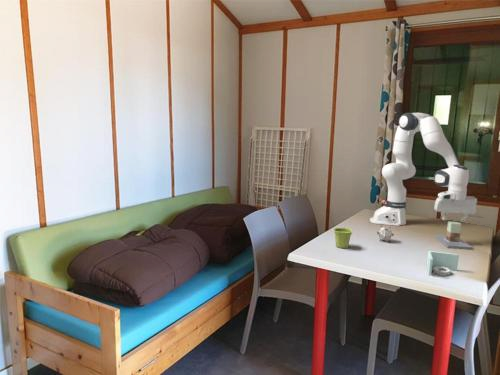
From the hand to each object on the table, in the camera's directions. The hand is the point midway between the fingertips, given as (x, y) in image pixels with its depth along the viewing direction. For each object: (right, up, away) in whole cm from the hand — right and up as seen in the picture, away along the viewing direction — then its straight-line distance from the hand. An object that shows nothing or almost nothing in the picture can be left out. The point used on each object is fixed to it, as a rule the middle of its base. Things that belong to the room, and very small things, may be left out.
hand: (453, 220), depth 207 cm
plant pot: (-63, -13, -11) cm, 65 cm away
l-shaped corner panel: (-28, -19, -44) cm, 55 cm away
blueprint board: (-1, -12, -1) cm, 12 cm away
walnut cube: (-1, -11, -1) cm, 11 cm away
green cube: (-1, -6, -2) cm, 6 cm away
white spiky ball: (-37, -11, 0) cm, 39 cm away
